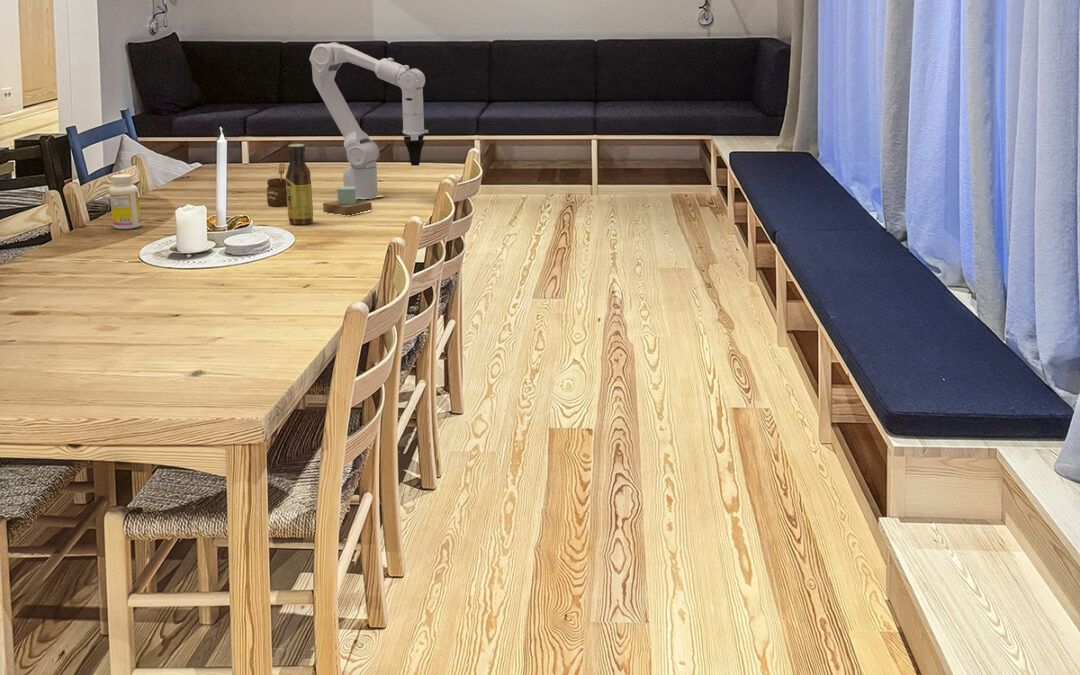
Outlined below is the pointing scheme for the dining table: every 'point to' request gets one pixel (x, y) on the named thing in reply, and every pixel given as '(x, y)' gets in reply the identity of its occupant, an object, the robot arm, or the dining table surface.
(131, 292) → the dining table surface
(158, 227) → the dining table surface
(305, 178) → the sauce bottle
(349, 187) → the teal block
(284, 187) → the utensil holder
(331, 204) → the walnut slab
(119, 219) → the supplement bottle
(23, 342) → the dining table surface
